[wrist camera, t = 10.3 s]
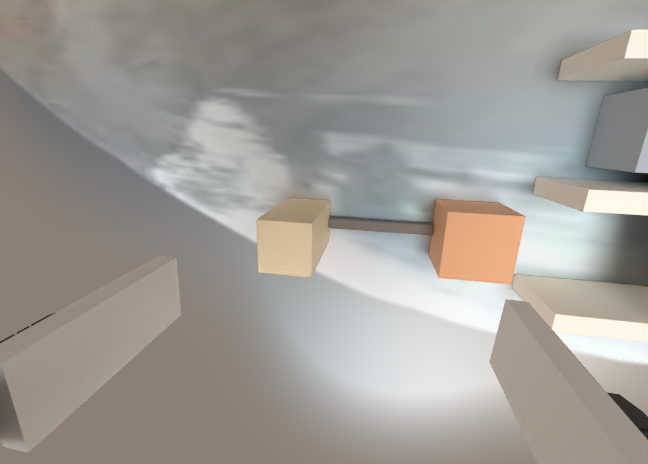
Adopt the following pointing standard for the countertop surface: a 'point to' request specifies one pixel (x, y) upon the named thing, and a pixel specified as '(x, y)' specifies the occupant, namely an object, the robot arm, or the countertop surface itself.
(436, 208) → the corded block
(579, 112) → the countertop surface
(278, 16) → the countertop surface
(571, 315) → the shelf lanes
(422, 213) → the countertop surface
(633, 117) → the slate block
